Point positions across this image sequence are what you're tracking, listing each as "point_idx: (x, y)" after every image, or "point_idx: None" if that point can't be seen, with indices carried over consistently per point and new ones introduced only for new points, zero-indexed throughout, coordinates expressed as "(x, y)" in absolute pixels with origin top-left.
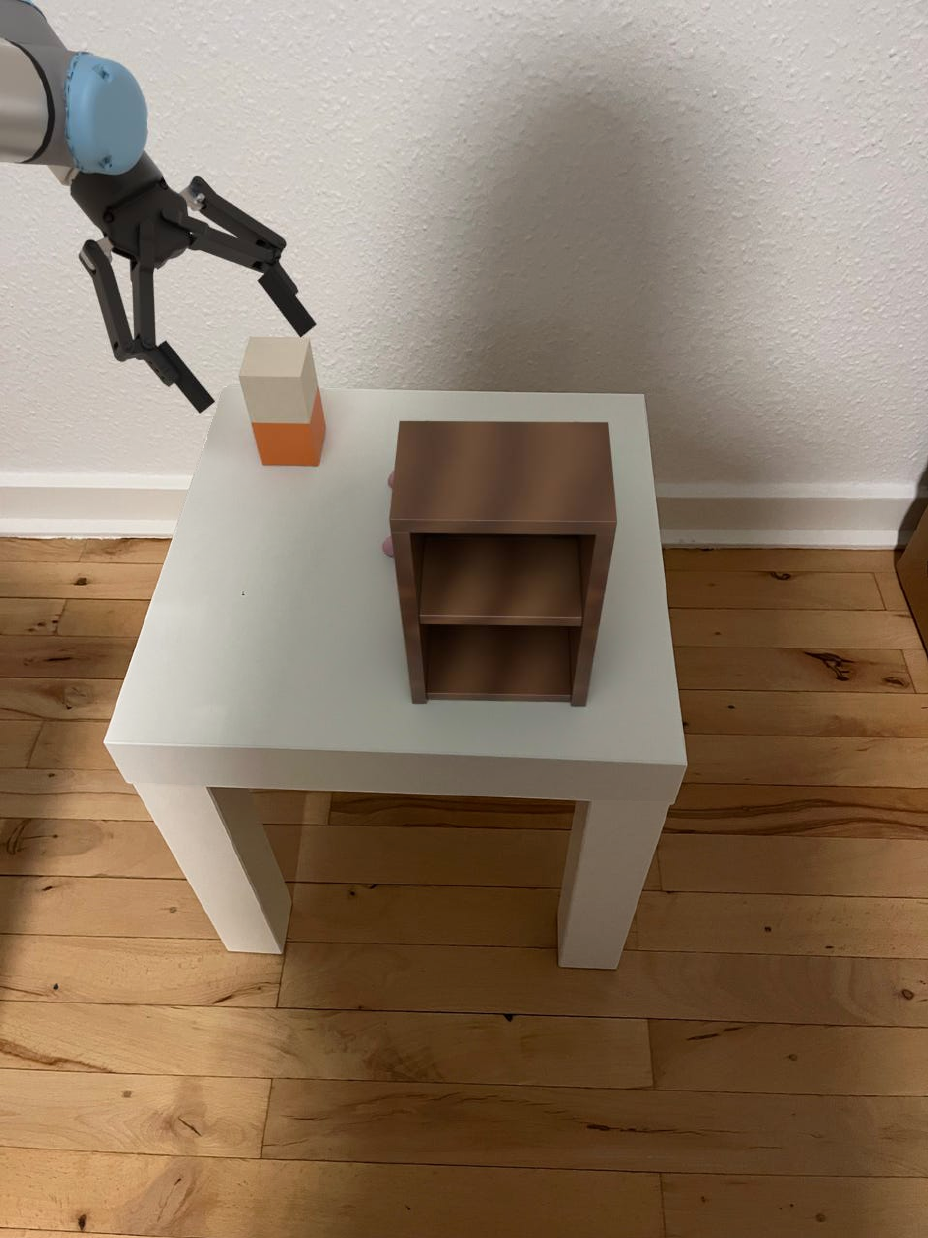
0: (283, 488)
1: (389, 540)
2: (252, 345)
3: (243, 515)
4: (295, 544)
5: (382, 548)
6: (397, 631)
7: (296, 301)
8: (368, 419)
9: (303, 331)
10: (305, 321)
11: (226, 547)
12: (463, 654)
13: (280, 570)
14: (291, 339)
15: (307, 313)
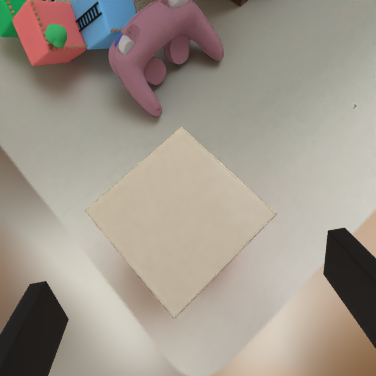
0: None
1: (218, 38)
2: (190, 282)
3: (302, 189)
4: (279, 122)
5: (223, 53)
6: (264, 5)
7: (3, 342)
8: None
9: (57, 308)
10: (40, 298)
11: (341, 163)
12: None
13: (309, 106)
14: (114, 233)
15: (18, 307)
